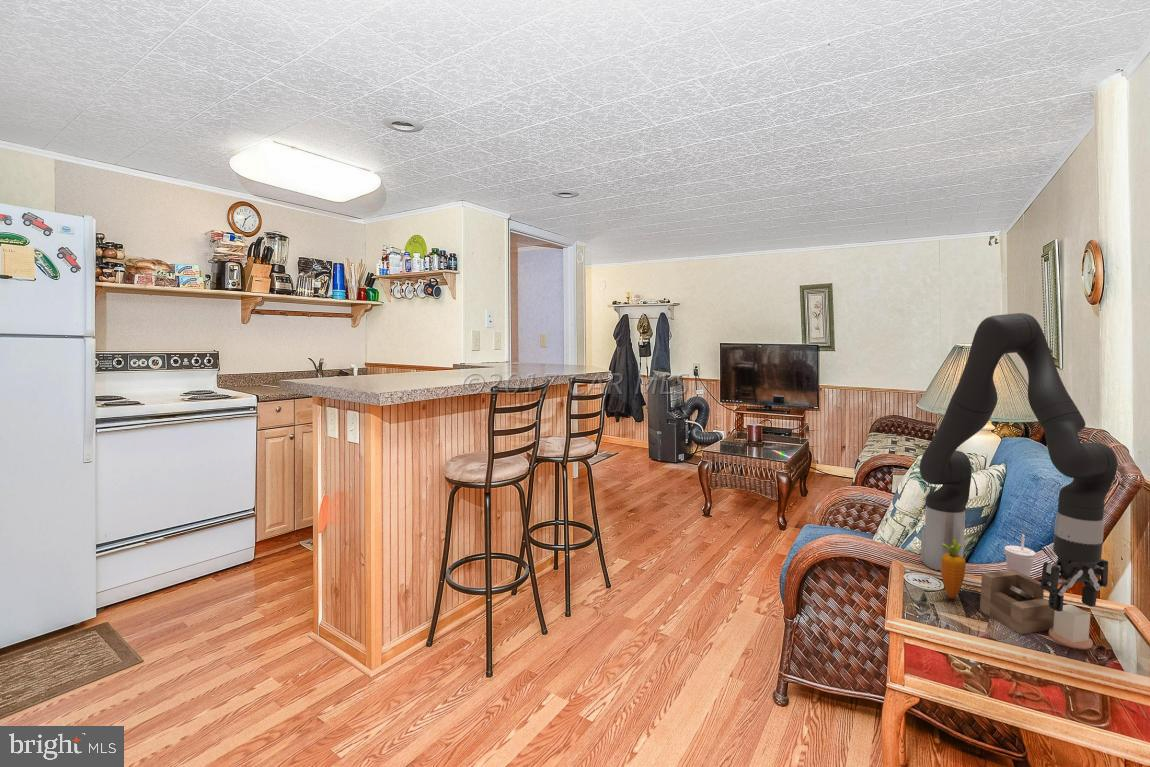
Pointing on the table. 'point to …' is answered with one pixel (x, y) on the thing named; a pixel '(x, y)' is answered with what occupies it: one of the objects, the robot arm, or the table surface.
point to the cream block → (1072, 623)
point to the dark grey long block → (1023, 594)
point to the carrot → (952, 569)
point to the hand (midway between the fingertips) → (1072, 607)
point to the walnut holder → (1015, 601)
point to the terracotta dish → (1068, 643)
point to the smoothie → (1019, 558)
